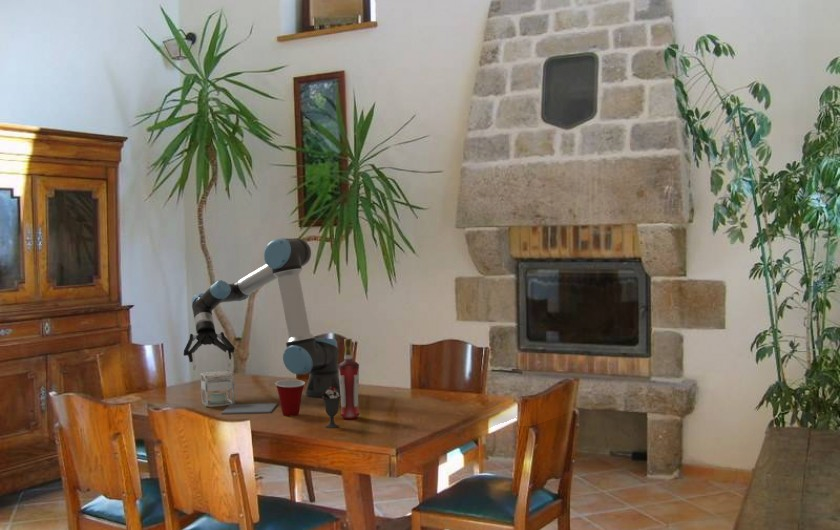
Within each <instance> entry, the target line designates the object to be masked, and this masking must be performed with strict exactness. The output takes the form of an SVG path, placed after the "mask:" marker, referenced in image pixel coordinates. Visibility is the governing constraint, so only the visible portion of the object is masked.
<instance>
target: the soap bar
mask: <svg viewBox="0 0 840 530" xmlns="http://www.w3.org/2000/svg"><path fill="white" fill-rule="evenodd" d="M208 399H209V400H210V402H209V405H215V404H226V403H227V401H226V399H227V392H224V391H213V392H209V393H208Z"/></svg>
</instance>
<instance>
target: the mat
mask: <svg viewBox="0 0 840 530" xmlns="http://www.w3.org/2000/svg"><path fill="white" fill-rule="evenodd" d="M277 406H278V403H246V404H245V403H238V404H236V403H235V404H234V405H227V407H226V408H225V409H224V410H223V411H221V415H240V414H241V415H242V414H244V415H245V414H247V415H248V414H250V415H251V414H271V413H272V412H273V411H274V410H275V408H276V407H277Z"/></svg>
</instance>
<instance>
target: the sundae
mask: <svg viewBox="0 0 840 530" xmlns="http://www.w3.org/2000/svg"><path fill="white" fill-rule="evenodd" d="M334 383H336V382H334ZM333 385H334V386H335V384H333ZM336 390H337V389H336V388H332V387H330V388H329V389H328V390H327V391H326V393H325V392H324V393H323V394H322V395H323V397H321V399H323V403H324V409H325V413H326V415H327V416H329V418H330V422H329V424H328V425H327V424H326V425H325V426H324V427H325V428H326V429H338V428H340V425H338V424H336V423H335V416H336V415H337V414H338V413H339V405H340V400H341V396H340V395H339V393H338V392H337V391H336ZM337 427H338V428H337Z"/></svg>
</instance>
